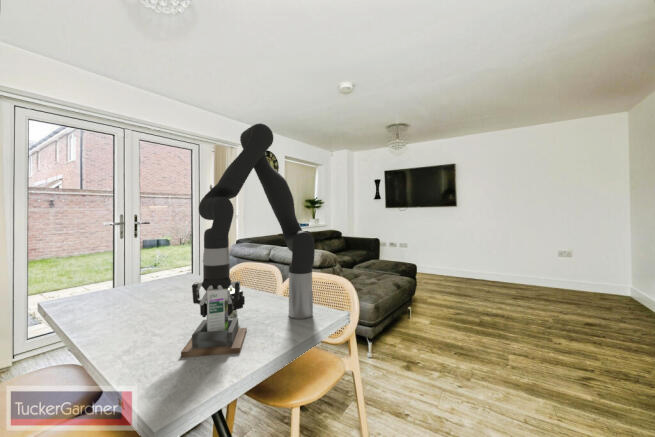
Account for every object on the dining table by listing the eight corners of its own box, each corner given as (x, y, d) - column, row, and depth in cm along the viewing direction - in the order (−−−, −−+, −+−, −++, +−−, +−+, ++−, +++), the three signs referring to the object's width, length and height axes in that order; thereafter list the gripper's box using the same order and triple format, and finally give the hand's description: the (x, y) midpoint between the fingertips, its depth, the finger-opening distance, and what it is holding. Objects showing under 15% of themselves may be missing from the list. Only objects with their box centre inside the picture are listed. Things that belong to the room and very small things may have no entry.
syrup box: (207, 340, 81) (207, 291, 81) (206, 332, 86) (206, 286, 86) (228, 336, 84) (228, 288, 84) (225, 328, 89) (225, 284, 89)
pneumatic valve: (233, 324, 99) (233, 291, 99) (217, 316, 107) (217, 286, 106) (247, 320, 103) (247, 288, 103) (230, 312, 111) (230, 283, 111)
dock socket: (246, 332, 93) (246, 315, 93) (240, 352, 79) (240, 334, 79) (196, 335, 91) (196, 318, 91) (180, 357, 77) (180, 337, 77)
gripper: (242, 259, 89) (242, 310, 90) (195, 260, 87) (196, 312, 88) (238, 263, 82) (239, 319, 82) (187, 265, 80) (188, 321, 80)
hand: (217, 315), depth 85 cm, fingers closed on syrup box, 6 cm apart
